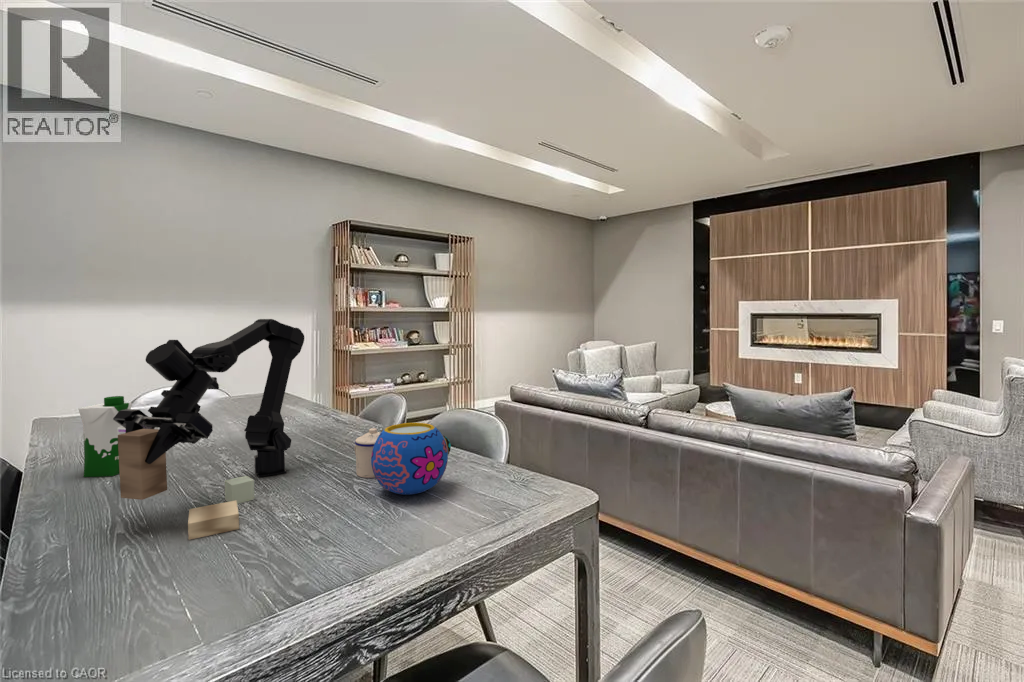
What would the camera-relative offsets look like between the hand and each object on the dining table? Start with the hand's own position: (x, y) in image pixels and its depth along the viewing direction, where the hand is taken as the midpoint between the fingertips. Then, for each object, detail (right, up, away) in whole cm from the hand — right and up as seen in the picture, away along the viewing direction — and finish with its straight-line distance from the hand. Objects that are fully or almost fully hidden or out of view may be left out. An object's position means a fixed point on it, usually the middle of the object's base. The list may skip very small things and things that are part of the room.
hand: (135, 462), depth 88 cm
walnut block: (0, -7, +2) cm, 7 cm away
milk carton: (-36, -12, +35) cm, 52 cm away
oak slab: (+13, -13, +3) cm, 19 cm away
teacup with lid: (+34, -12, +35) cm, 50 cm away
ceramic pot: (+47, -13, +22) cm, 54 cm away
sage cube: (+10, -13, +16) cm, 23 cm away
